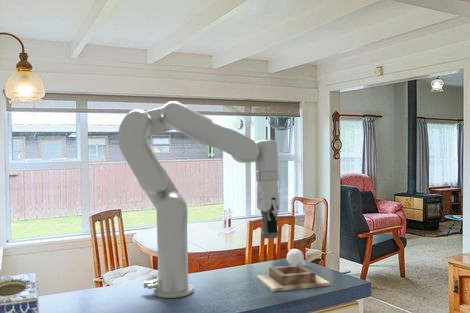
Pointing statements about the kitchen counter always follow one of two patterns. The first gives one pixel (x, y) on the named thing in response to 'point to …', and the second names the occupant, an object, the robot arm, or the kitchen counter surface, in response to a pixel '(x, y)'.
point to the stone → (265, 229)
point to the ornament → (295, 257)
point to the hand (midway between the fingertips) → (270, 230)
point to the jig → (291, 278)
